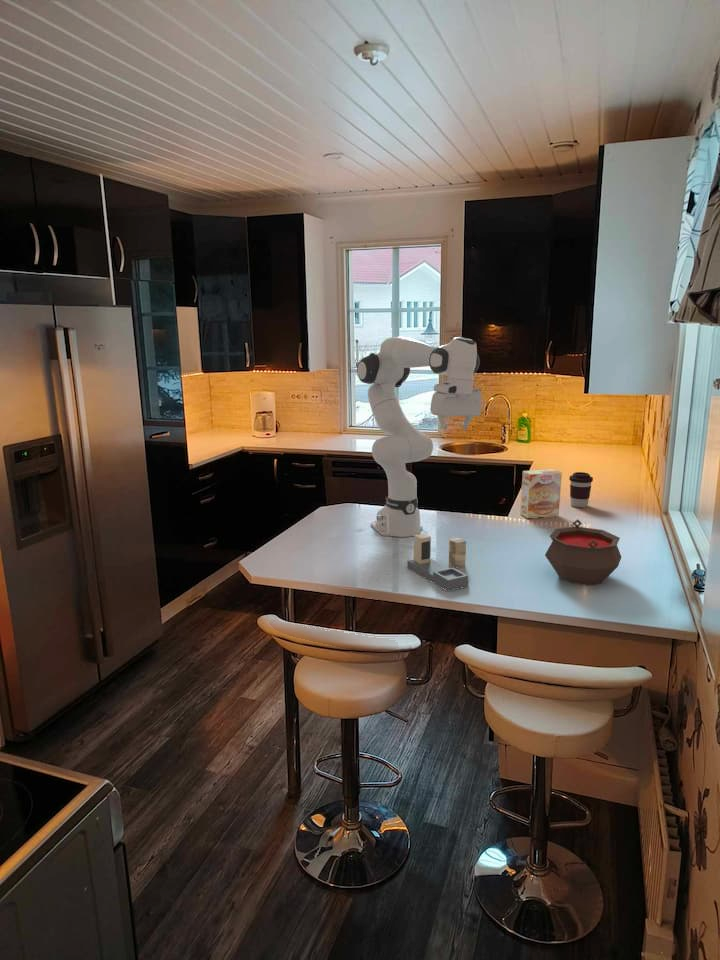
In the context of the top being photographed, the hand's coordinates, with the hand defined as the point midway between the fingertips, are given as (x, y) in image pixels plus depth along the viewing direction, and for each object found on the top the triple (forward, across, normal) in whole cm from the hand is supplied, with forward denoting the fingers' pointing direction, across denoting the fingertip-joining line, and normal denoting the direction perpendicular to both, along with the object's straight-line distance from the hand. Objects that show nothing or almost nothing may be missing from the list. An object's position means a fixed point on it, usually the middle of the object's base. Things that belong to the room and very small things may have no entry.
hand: (454, 428), depth 214 cm
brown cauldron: (+42, -26, +40) cm, 64 cm away
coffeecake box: (+41, -69, -14) cm, 81 cm away
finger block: (+46, 0, +9) cm, 47 cm away
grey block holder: (+46, +12, +13) cm, 50 cm away
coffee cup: (+39, -95, -14) cm, 103 cm away
